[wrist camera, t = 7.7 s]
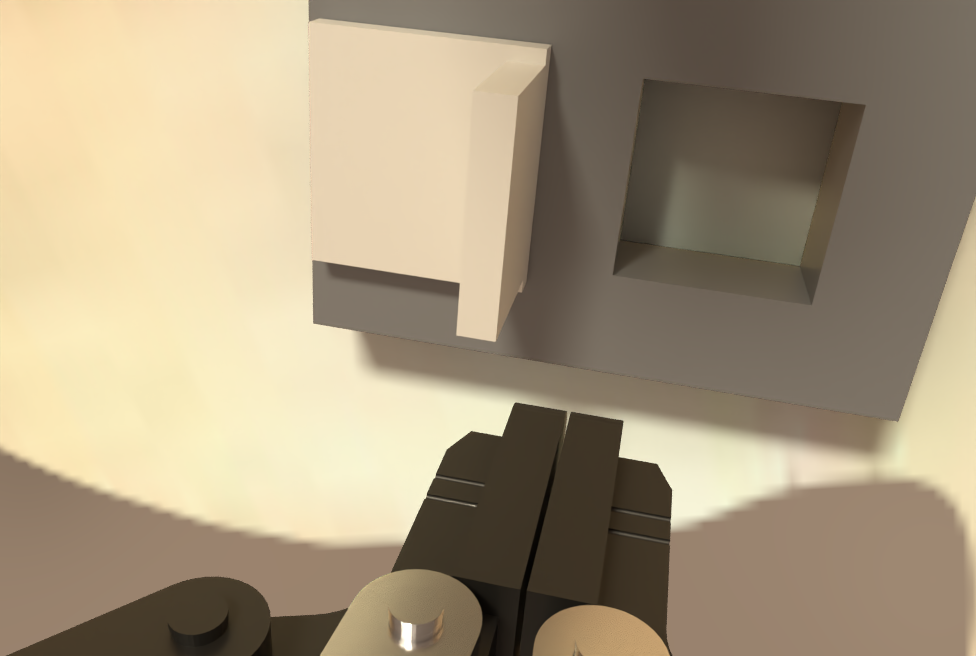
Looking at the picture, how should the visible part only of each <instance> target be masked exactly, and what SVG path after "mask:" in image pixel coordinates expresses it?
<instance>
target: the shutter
mask: <svg viewBox="0 0 976 656" xmlns="http://www.w3.org/2000/svg"><path fill="white" fill-rule="evenodd" d="M308 39H309V106H310V172H311V239H312V260H316V261H323V262H329V263H335V264H342V265H348V266H355V267H361V268H367V269H374V270H380V271H386V272H393V273H399V274H406V275H412V276H418V277H425V278H431V279H438V280H444V281H450V282H457V283H460V289H459V303H458V318H457V332H456V335H457V336H463V337H469V338H475V339H481V340H487V341H493V342H496V340H497V338H498V336H499V333H500V331H501V329H502V327H503V324H504V322H505V320H506V318H507V315H508V313H509V311H510V308H511V306H512V304H513V302H514V299H515V297H516V295H517V293H518V292H521V293H522V291H523V289H524V286H525V284H526V281H527V271H528V262H529V252H530V243H531V233H532V224H533V215H534V205H535V196H536V186H537V177H538V167H539V158H540V149H541V139H542V130H543V120H544V111H545V101H546V92H547V82H548V73H549V64H550V54H551V45H550V44H541V43H532V42H524V41H515V40H506V39H497V38H488V37H479V36H471V35H462V34H453V33H444V32H435V31H427V30H418V29H409V28H400V27H391V26H382V25H374V24H365V23H356V22H347V21H338V20H329V19H321V18H319V19H316V20H313V21H310V22H308Z"/></svg>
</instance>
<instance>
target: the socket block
mask: <svg viewBox="0 0 976 656" xmlns="http://www.w3.org/2000/svg"><path fill="white" fill-rule="evenodd" d="M319 18H321V19H329V20H338V21H347V22H356V23H365V24H374V25H382V26H391V27H400V28H409V29H418V30H427V31H435V32H444V33H453V34H462V35H471V36H479V37H488V38H497V39H506V40H515V41H524V42H532V43H541V44H550V45H551V54H550V64H549V73H548V82H547V92H546V101H545V111H544V120H543V130H542V139H541V149H540V158H539V167H538V177H537V186H536V196H535V205H534V215H533V224H532V233H531V243H530V252H529V262H528V271H527V281H526V284H525V286H524V289H523V291H522V293H521V292H518V293H517V295H516V297H515V299H514V302H513V304H512V306H511V308H510V311H509V313H508V315H507V318H506V320H505V322H504V324H503V327H502V329H501V331H500V333H499V336H498V338H497V340H496V342H493V341H487V340H481V339H475V338H469V337H463V336H457V335H456V332H457V318H458V303H459V289H460V283H457V282H450V281H444V280H438V279H431V278H425V277H418V276H412V275H406V274H399V273H393V272H386V271H380V270H374V269H367V268H361V267H355V266H348V265H342V264H335V263H329V262H323V261H316V260H312V262H313V323H314V324H320V325H326V326H332V327H337V328H343V329H349V330H355V331H361V332H367V333H373V334H379V335H385V336H391V337H397V338H403V339H409V340H415V341H421V342H427V343H433V344H439V345H445V346H451V347H457V348H463V349H468V350H474V351H480V352H486V353H492V354H498V355H504V356H510V357H516V358H522V359H528V360H534V361H540V362H546V363H552V364H558V365H564V366H570V367H576V368H582V369H588V370H594V371H600V372H605V373H611V374H617V375H623V376H629V377H635V378H641V379H647V380H653V381H659V382H665V383H671V384H677V385H683V386H689V387H695V388H701V389H707V390H713V391H719V392H725V393H731V394H736V395H742V396H748V397H754V398H760V399H766V400H772V401H778V402H784V403H790V404H796V405H802V406H808V407H814V408H820V409H826V410H832V411H838V412H844V413H850V414H856V415H862V416H868V417H873V418H879V419H885V420H891V421H897V422H898V421H899V418H900V415H901V412H902V409H903V406H904V403H905V400H906V397H907V394H908V391H909V389H910V386H911V383H912V380H913V377H914V374H915V371H916V368H917V365H918V362H919V359H920V357H921V354H922V351H923V348H924V345H925V342H926V339H927V336H928V333H929V330H930V327H931V324H932V322H933V319H934V316H935V313H936V310H937V307H938V304H939V301H940V298H941V295H942V292H943V290H944V287H945V284H946V281H947V278H948V275H949V272H950V269H951V266H952V263H953V260H954V257H955V255H956V252H957V249H958V246H959V243H960V240H961V237H962V234H963V231H964V228H965V225H966V223H967V220H968V217H969V214H970V211H971V208H972V205H973V202H974V199H975V196H976V0H309V22H310V21H313V20H316V19H319ZM645 79H649V80H657V81H666V82H674V83H683V84H691V85H700V86H708V87H717V88H726V89H734V90H743V91H751V92H760V93H768V94H777V95H785V96H794V97H802V98H811V99H819V100H828V101H836V102H842V106H841V109H840V113H839V117H838V121H837V125H836V129H835V133H834V137H833V140H832V144H831V148H830V152H829V156H828V160H827V164H826V167H825V171H824V175H823V179H822V183H821V187H820V191H819V195H818V198H817V202H816V206H815V210H814V214H813V218H812V222H811V226H810V229H809V233H808V237H807V241H806V245H805V249H804V253H803V256H802V260H801V264H800V266H794V265H788V264H781V263H774V262H767V261H760V260H753V259H746V258H739V257H732V256H725V255H719V254H712V253H705V252H698V251H691V250H684V249H677V248H670V247H663V246H657V245H650V244H643V243H636V242H629V241H622V240H620V236H621V230H622V223H623V217H624V210H625V204H626V197H627V191H628V185H629V178H630V172H631V165H632V159H633V152H634V146H635V139H636V133H637V127H638V120H639V114H640V107H641V101H642V94H643V88H644V81H645Z"/></svg>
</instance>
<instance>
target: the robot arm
mask: <svg viewBox="0 0 976 656" xmlns="http://www.w3.org/2000/svg"><path fill="white" fill-rule="evenodd" d="M566 421H567V411H562V410H556V409H550V408H544V407H539V406H533V405H527V404H521V403H515V404H514V406H513V408H512V411H511V414H510V416H509V419H508V422H507V425H506V427H505V430H504V433H503V436H502V437H501V436H495V435H490V434H484V433H479V432H473V431H471V432H470V433H468V434H467V435H466V436H464V437H463V438H462V439H460V440H459V441H458V442H456V443H455V444H454V445H452V446H451V447H450V448H448V449H447V451H446V453H445V455H444V457H443V460H442V462H441V464H440V466H439V468H438V471H437V473H436V477H435V479H433V481H432V484H431V486H430V488H429V490H428V492H427V497H426V499H424V501H423V503H422V506H421V508H420V510H419V512H418V514H417V517H416V519H415V521H414V523H413V525H412V528H411V530H410V532H409V534H408V536H407V539H406V541H405V543H404V545H403V547H402V550H401V552H400V554H399V556H398V558H397V560H396V563H395V565H394V567H393V569H392V572H391V573H389V574H386V575H384V576H381V577H379V578H377V579H375V580H373V581H372V582H371V583H369V584H367V585H366V586H365V587H364V588H363V589H362V590H361V591H360V592H359V593H358V595H357V596H356V597H355V599H354V600H353V602H352V603H351V605H350V607H349V608H347V609H344V610H341V611H337V612H332V613H328V614H318V615H303V616H283V617H270V610H269V607H268V604H267V602H266V601H265V599H264V597H263V596H262V595H261V594H260V593H259V592H258V591H257V590H256V589H255V588H253V587H252V586H250V585H248V584H246V583H244V582H241V581H239V580H234V579H231V578H224V577H202V578H195V579H190V580H186V581H182V582H180V583H177V584H174V585H172V586H169V587H167V588H165V589H162V590H160V591H157V592H155V593H153V594H150V595H148V596H146V597H143V598H141V599H139V600H136V601H134V602H132V603H129V604H127V605H125V606H122V607H120V608H118V609H115V610H113V611H110V612H108V613H106V614H103V615H101V616H99V617H96V618H94V619H91V620H89V621H87V622H84V623H82V624H80V625H77V626H76V627H73V628H70V629H68V630H66V631H63V632H61V633H59V634H56V635H54V636H52V637H49V638H47V639H44V640H42V641H40V642H37V643H35V644H33V645H30V646H28V647H26V648H23V649H21V650H19V651H16V652H14V653H12V654H9V655H7V656H672V654H671V652H670V649H669V646H668V642H667V634H666V624H667V598H668V575H669V553H670V546H669V542H670V529H671V523H670V520H671V505H672V489H671V487H670V486H669V484H668V482H667V480H666V479H665V477H664V475H663V473H662V472H661V470H660V468H659V466H658V465H657V464H654V463H648V462H643V461H637V460H632V459H626V458H620V457H619V449H620V442H621V435H622V428H623V421H622V420H616V419H610V418H604V417H598V416H592V415H587V414H581V413H575V412H571V414H570V418H569V422H568V426H567V430H566V434H565V429H566ZM564 437H565V438H564Z"/></svg>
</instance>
